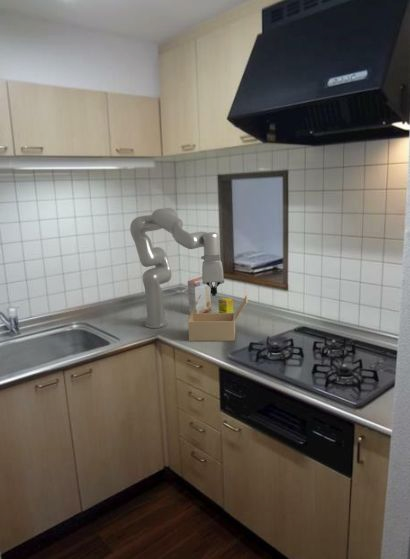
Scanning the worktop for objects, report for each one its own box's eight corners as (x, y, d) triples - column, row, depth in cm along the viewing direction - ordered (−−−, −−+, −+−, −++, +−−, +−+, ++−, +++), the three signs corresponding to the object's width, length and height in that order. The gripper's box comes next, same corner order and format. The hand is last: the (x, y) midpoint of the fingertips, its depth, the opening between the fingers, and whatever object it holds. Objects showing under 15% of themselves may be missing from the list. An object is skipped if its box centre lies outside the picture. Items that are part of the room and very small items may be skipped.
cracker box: (203, 309, 261) (202, 275, 257) (211, 310, 258) (210, 277, 253) (188, 315, 251) (187, 280, 246) (196, 316, 247) (194, 281, 243)
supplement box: (218, 318, 243) (218, 299, 240) (225, 315, 247) (224, 297, 245) (226, 319, 239) (226, 301, 236) (233, 317, 243) (232, 298, 241)
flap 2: (246, 302, 201) (247, 302, 201) (246, 294, 214) (247, 295, 214) (234, 320, 203) (235, 321, 203) (235, 312, 216) (236, 313, 216)
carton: (189, 341, 208) (188, 322, 205) (193, 331, 221) (192, 313, 219) (234, 341, 205) (233, 321, 203) (235, 331, 219) (234, 313, 217)
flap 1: (201, 295, 216) (200, 294, 216) (198, 302, 203) (197, 301, 203) (191, 313, 219) (190, 312, 219) (187, 321, 206) (186, 320, 206)
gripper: (195, 260, 202) (198, 297, 205) (227, 258, 200) (228, 296, 204) (197, 257, 209) (199, 293, 213) (227, 256, 207) (229, 292, 211)
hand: (214, 295), depth 208 cm, fingers closed
